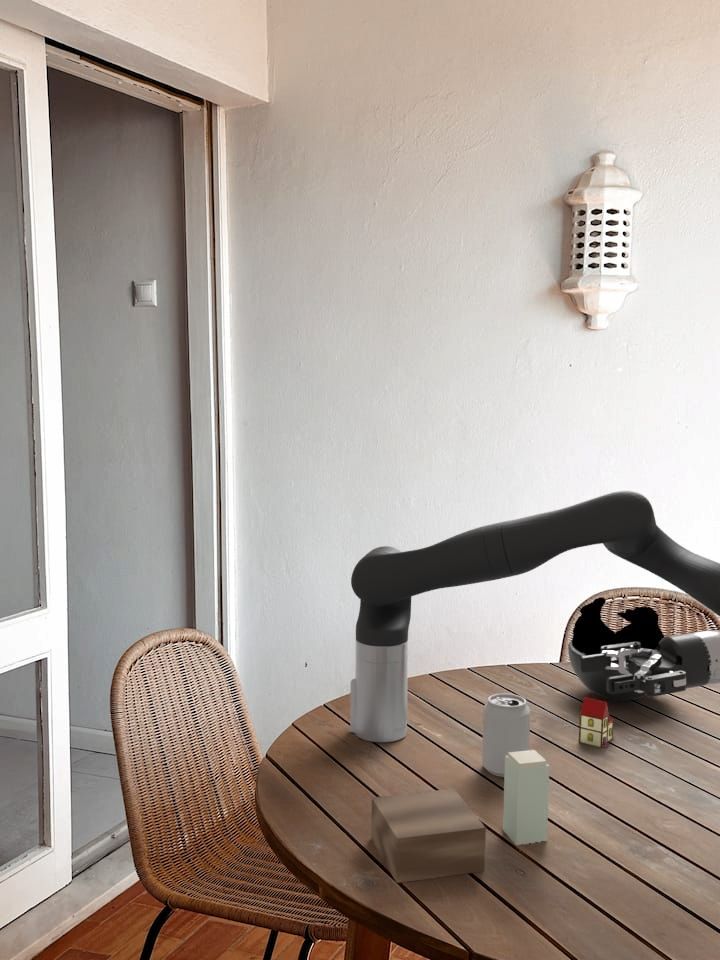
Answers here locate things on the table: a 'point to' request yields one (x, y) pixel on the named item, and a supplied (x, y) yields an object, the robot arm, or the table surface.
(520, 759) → the sage tin
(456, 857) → the walnut block
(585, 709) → the toy house
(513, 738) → the can
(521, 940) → the table surface
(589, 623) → the coal bowl
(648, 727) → the table surface
